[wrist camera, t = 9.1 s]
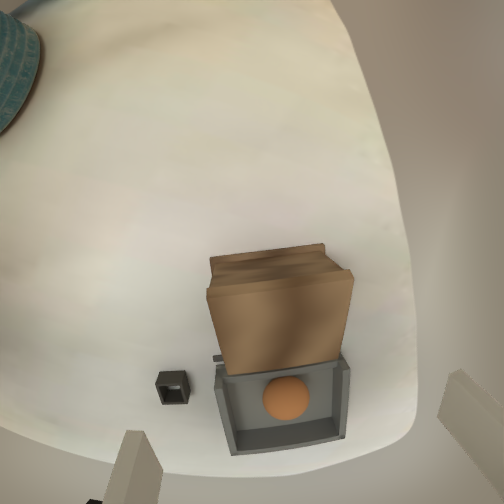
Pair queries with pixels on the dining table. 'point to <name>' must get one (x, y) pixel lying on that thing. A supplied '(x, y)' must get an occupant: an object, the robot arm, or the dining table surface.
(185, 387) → the dark open box
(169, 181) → the dining table surface
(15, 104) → the vase
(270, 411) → the ball
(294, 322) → the wooden cubby
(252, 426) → the bin
